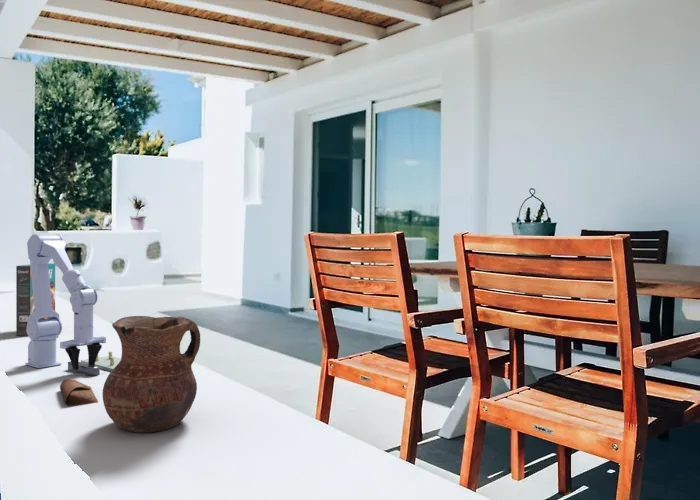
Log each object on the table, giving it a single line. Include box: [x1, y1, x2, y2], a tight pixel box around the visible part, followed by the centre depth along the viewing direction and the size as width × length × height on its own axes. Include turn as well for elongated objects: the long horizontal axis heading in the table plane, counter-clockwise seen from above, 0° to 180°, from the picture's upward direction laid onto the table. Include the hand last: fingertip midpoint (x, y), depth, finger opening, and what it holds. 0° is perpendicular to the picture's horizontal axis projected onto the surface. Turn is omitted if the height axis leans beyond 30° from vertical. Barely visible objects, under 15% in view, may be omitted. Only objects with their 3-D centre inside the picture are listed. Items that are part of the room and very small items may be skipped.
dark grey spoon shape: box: [67, 361, 101, 378], centre depth 202 cm, size 15×4×3 cm, turn 52°
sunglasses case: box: [59, 378, 99, 407], centre depth 173 cm, size 18×7×7 cm, turn 30°
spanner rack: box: [80, 350, 121, 372], centre depth 214 cm, size 20×11×4 cm, turn 52°
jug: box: [102, 315, 201, 434], centre depth 150 cm, size 22×21×25 cm
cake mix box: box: [15, 262, 56, 337], centre depth 279 cm, size 22×6×30 cm, turn 179°
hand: (83, 368), depth 202 cm, fingers open, 5 cm apart
